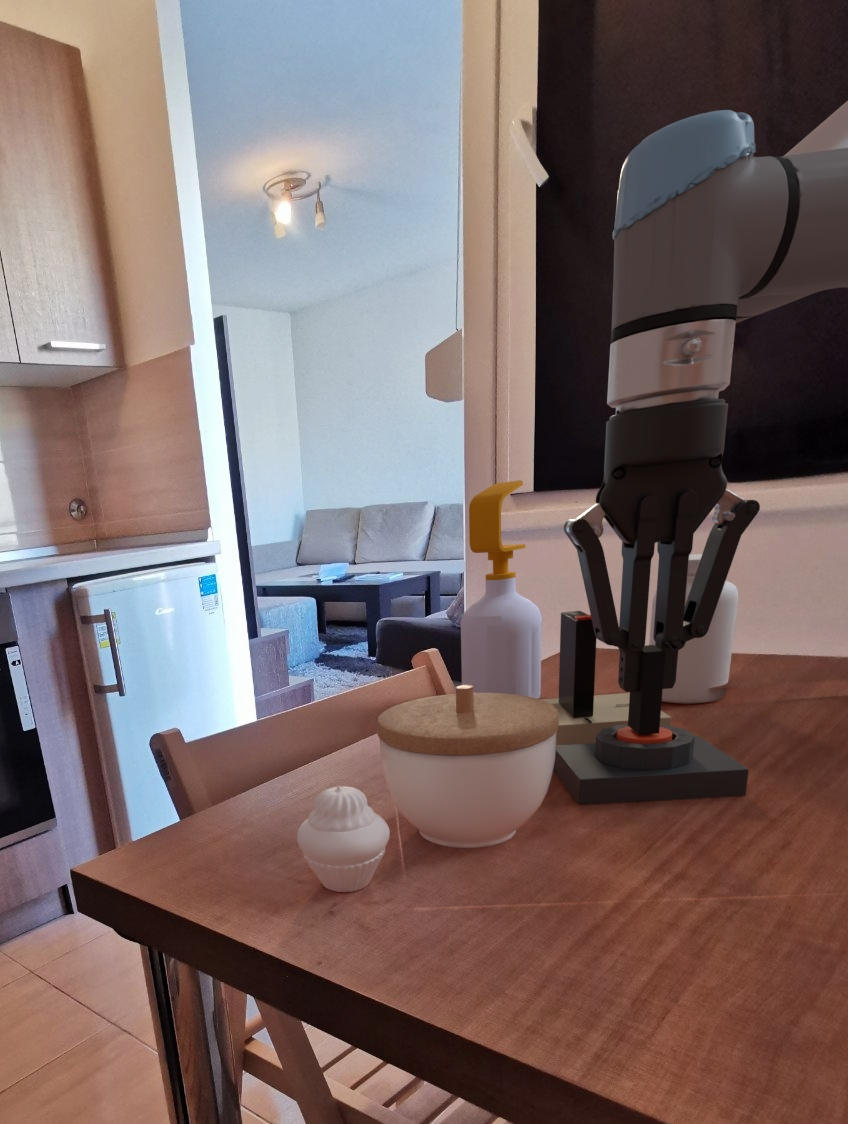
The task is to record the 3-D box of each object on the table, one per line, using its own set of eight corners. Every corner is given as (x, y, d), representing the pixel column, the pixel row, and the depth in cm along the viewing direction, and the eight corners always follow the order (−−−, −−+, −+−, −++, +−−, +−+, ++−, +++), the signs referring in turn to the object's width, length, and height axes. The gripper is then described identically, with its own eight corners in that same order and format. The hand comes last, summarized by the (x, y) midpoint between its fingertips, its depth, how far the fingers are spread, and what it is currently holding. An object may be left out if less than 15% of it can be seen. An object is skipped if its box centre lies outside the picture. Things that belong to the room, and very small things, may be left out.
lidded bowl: (366, 859, 55) (356, 711, 51) (400, 797, 66) (393, 671, 62) (554, 870, 50) (558, 707, 46) (557, 801, 61) (561, 664, 57)
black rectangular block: (558, 702, 77) (560, 609, 74) (577, 701, 77) (580, 607, 74) (573, 717, 71) (576, 618, 68) (593, 716, 71) (597, 616, 68)
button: (660, 743, 63) (661, 723, 63) (678, 758, 60) (680, 737, 59) (609, 747, 64) (610, 727, 63) (624, 761, 60) (625, 740, 60)
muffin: (304, 907, 49) (294, 807, 47) (298, 867, 55) (289, 776, 53) (400, 898, 49) (395, 796, 47) (383, 858, 55) (378, 766, 52)
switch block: (697, 760, 66) (701, 715, 65) (745, 796, 58) (751, 746, 56) (551, 769, 68) (552, 726, 67) (579, 805, 60) (580, 757, 58)
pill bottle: (725, 706, 79) (741, 557, 74) (640, 704, 84) (649, 563, 79) (729, 688, 85) (744, 549, 80) (649, 687, 90) (659, 555, 85)
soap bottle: (556, 695, 91) (561, 475, 83) (506, 713, 87) (507, 481, 78) (495, 687, 98) (494, 483, 90) (446, 703, 94) (440, 490, 85)
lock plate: (632, 720, 79) (634, 690, 78) (669, 749, 69) (672, 715, 68) (492, 730, 81) (492, 701, 80) (510, 759, 72) (510, 727, 70)
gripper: (582, 411, 51) (569, 748, 59) (797, 382, 49) (753, 736, 57) (555, 422, 58) (547, 723, 66) (742, 398, 56) (710, 711, 64)
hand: (643, 729), depth 61 cm, fingers closed
